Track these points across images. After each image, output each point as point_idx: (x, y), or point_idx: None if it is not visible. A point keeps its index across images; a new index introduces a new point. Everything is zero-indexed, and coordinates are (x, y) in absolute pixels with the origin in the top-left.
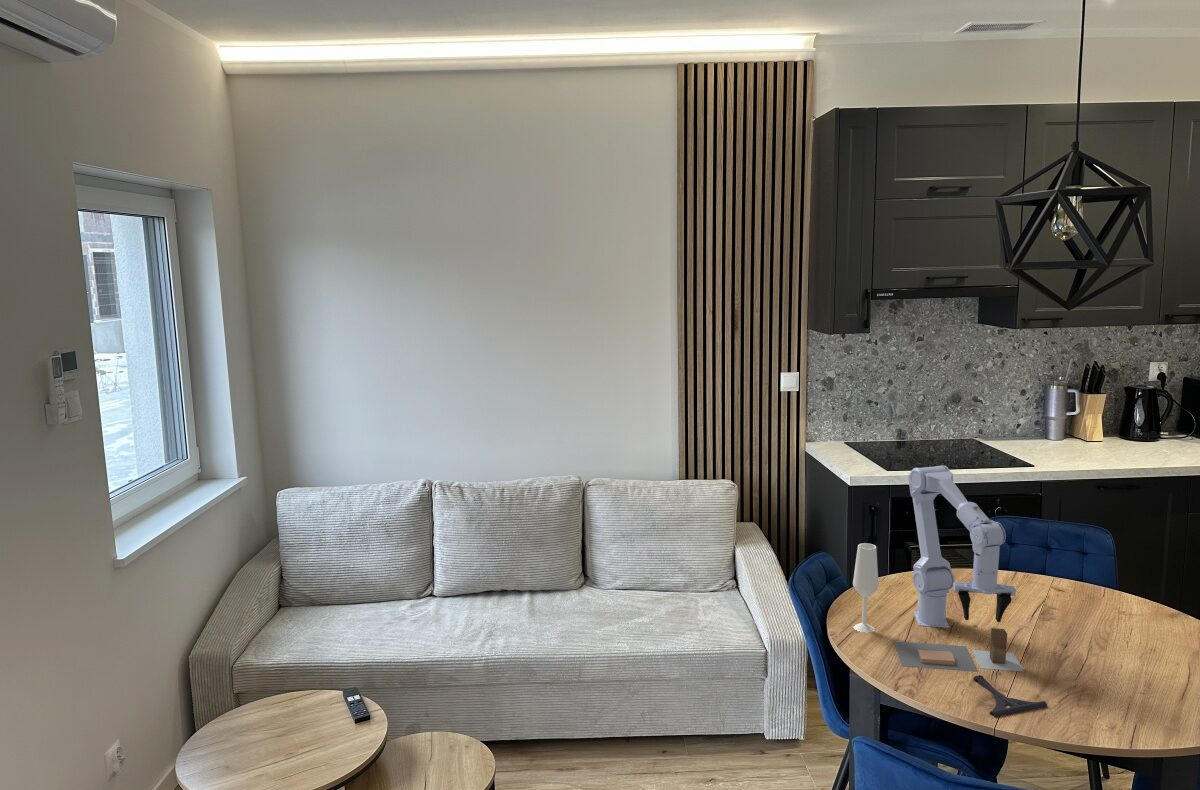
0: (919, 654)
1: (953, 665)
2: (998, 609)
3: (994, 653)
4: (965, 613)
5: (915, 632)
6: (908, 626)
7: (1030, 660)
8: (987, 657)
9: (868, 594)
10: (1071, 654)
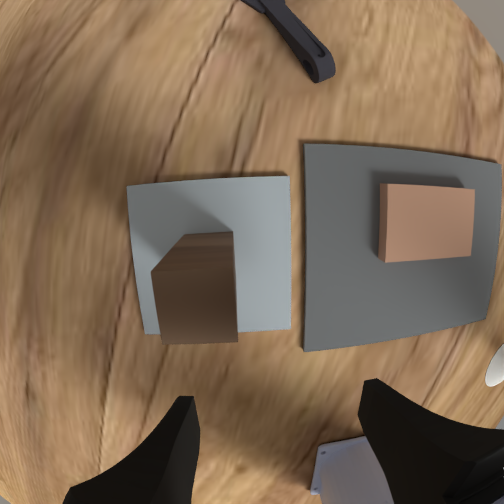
0: (470, 226)
1: (383, 182)
2: (183, 464)
3: (227, 239)
4: (404, 396)
5: (415, 396)
6: None
7: (96, 294)
8: (243, 278)
9: None
10: (10, 346)
